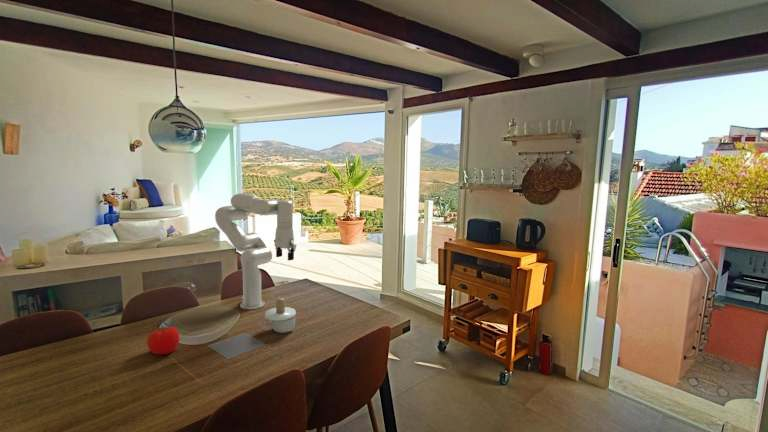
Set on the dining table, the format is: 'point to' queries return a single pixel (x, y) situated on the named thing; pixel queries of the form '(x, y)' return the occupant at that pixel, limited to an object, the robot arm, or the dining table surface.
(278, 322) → the teacup
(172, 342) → the tomato
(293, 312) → the lid
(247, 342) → the mat
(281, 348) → the dining table surface
